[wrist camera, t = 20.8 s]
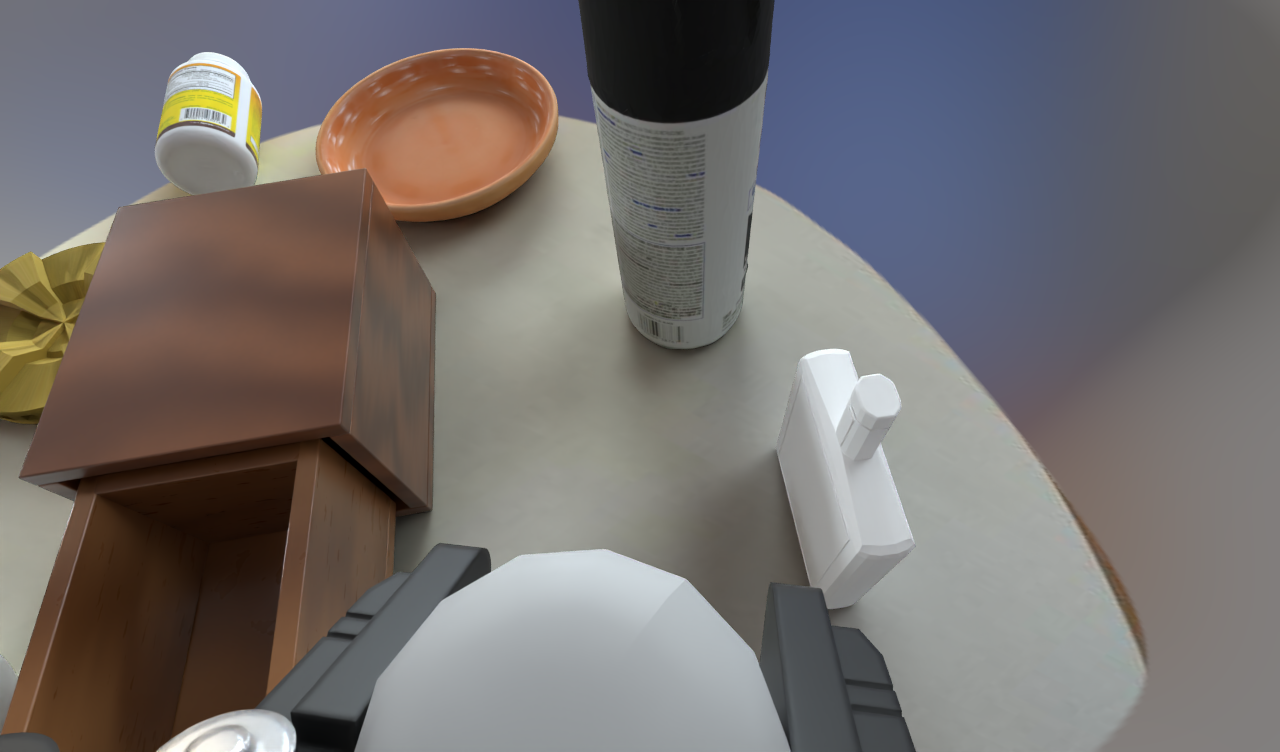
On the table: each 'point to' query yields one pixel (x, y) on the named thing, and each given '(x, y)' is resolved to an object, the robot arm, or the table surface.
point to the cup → (6, 688)
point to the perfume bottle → (842, 476)
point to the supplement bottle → (209, 126)
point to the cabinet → (249, 339)
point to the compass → (39, 324)
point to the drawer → (195, 592)
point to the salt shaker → (574, 667)
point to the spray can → (680, 153)
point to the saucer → (443, 131)
